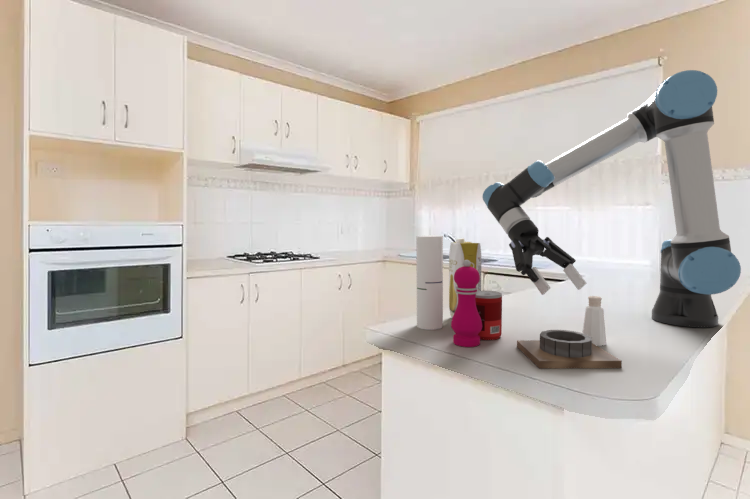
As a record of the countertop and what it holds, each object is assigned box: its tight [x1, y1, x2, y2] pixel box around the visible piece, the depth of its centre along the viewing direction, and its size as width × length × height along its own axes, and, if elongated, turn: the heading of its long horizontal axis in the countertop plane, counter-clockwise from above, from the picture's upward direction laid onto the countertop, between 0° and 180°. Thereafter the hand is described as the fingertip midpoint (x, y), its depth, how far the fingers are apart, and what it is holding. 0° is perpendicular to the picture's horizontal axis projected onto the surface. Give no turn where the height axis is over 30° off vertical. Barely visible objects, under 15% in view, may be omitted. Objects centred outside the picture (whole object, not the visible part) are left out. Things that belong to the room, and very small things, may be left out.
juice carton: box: [448, 237, 482, 318], centre depth 122 cm, size 9×8×24 cm
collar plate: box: [516, 329, 623, 369], centre depth 89 cm, size 16×14×4 cm
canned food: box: [475, 290, 503, 341], centre depth 105 cm, size 8×8×11 cm
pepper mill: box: [450, 260, 482, 348], centre depth 99 cm, size 7×7×20 cm
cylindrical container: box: [415, 234, 444, 331], centre depth 115 cm, size 7×7×25 cm
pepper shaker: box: [582, 295, 607, 347], centre depth 99 cm, size 5×5×11 cm
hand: (565, 289), depth 104 cm, fingers open, 13 cm apart
